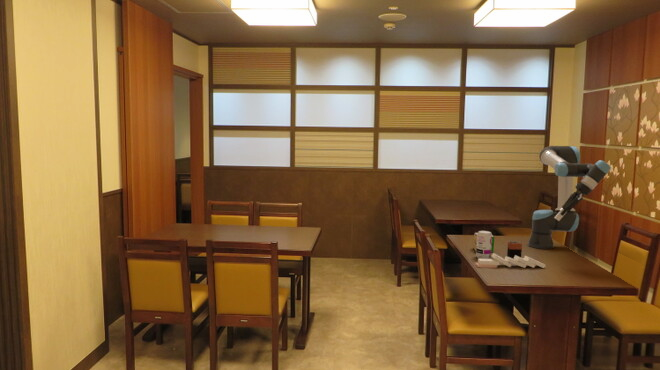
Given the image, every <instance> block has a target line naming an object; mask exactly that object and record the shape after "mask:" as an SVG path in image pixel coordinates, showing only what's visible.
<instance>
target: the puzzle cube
mask: <svg viewBox="0 0 660 370" xmlns="http://www.w3.org/2000/svg"><path fill="white" fill-rule="evenodd" d="M477 233H478V232H474V234H473V243H472V244H473V249H474V251H475V252H476V246H477ZM494 245H495V236H494V235H492V245H491V254H493V253H494V249H495V248H494Z"/></svg>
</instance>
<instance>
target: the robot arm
mask: <svg viewBox="0 0 660 370" xmlns="http://www.w3.org/2000/svg"><path fill="white" fill-rule="evenodd" d="M538 155H539V156H538V157H539V158H538V159H539V160H540V162H541V163H543V164H544V165H546V166H549V167H550V168H551V169H553V170H554V174H555V176H556V177H558V180H557V183H558V184H557V187H558V188H557V189H558V190H557V207H556V208H555V209H554V211H553V210H552V209H539V210H538V209H537V210H534V212H533V213H532V218H531V219H532V222H531V223H532V224H531V233H530V236H529V238H528V241H527V245H528V246H529V247H531V248H534V249H540V250H551V249H552V250H553V248H554V245H555V243H554V241H553V237H552V231H553V232H574V231H576V230H577V228H578V226H579V222H580V215H579V214H578V213H576V209H575V208H574V207H575V206H576V205H577V204H578V203H580V201H582V200H583V199H584V198H583V196H584V195H585V196H588V195H589V194H590V193H591V192H592V190H594V189H595V188H596V187H597V186H598V184H599V183H600V182H601V181H602V180H603V178H605V177H606V175H607V174H608V173H609V172H610V170H611V169H612V167H611V165H609V164H608V163H607V162H606V161H604V160H601V159H600V160H598V161H597V162H595V164H593V163H580V161H581V152H580V150H579V149H578V147H576V146H571V145H550V146H549V145H548V146H545V147H544V148H543V149H541V151H540V152H539V154H538ZM575 177H576V178H582V179H581V180H580V182H578V183H577V184H576V186H575V189H576V191H574V178H575Z"/></svg>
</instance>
